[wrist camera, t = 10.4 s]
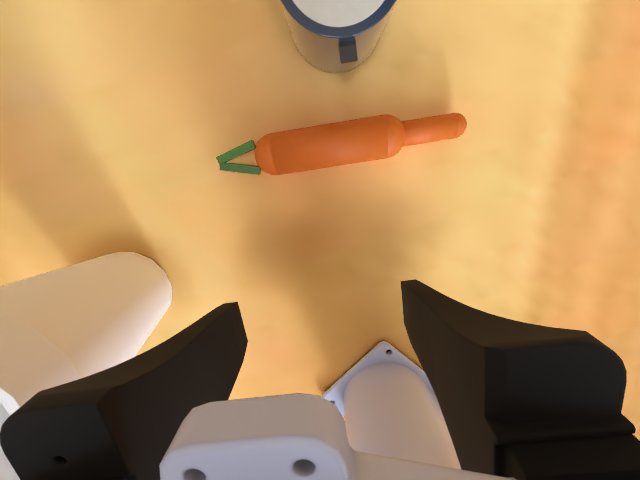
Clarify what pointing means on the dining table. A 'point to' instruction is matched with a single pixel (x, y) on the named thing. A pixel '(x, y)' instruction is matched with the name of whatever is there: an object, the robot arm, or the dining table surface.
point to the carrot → (341, 143)
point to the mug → (336, 30)
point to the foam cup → (75, 325)
